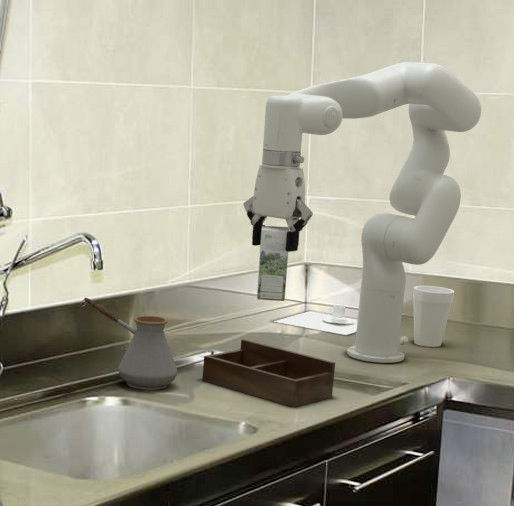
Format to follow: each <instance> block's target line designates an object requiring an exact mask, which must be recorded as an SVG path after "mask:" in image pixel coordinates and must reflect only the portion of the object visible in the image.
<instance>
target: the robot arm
mask: <svg viewBox="0 0 514 506" xmlns="http://www.w3.org/2000/svg"><path fill="white" fill-rule="evenodd" d="M405 105H408V117H409V122H410V125H411V129H412V135H413V141H412V147H411V150H410V152H409V154H408V155H407V158H406V160H405V162H404V164H403V166H402V168H401V170H400V172H399V173H398V175H397V177H396V179H395V181H394V183H393V185H392V187H391V190H390V192H389V198H388V199H389V204H390V205H391V207H392V208H393V209H394V210H395V211H397V212H398V213H402V214H405V215H408V216H414V217H415V218H414V217H408V216H405V215H399V214H393V213H387V212H386V213H385V212H384V213H377V214H373V215H372V216H370V217H369V218H368V219H367V220H366V222H365V223H364V224H363V227H362V231H361V235H360V236H361V237H360V238H361V239H360V241H361V251H362V272H361V284H360V293H359V300H358V301H359V302H358V310H357V311H358V312H357V330H356V332H355V341H354V345H352V346H350V347H348V348H347V349H346V354H347V356H348V357H350V358H353V359H355V360H360V361H363V362H370V363H377V364H378V363H379V364H393V363H401V362H402V361H404V359H405V353H404V352H402V351H401V350H400V347H401V346H405V345H407V344H408V343H409V338H408V337H407V336H405V335H404V336H400V335H401V327H402V326H401V325H402V319H403V318H402V317H403V310H404V309H403V307H404V299H405V290H406V283H407V282H406V281H407V277H406V271H405V267H404V264H403V263H405V264H410V265H414V266H415V265H416V266H420V265H424V264H426V263H428V262H429V261H430V260H431V259H432V258H434V257H435V254H437V251H438V250H439V248H440V246H441V244H442V243H443V240H444V239H445V236H446V235H447V234H448V231H449V229H450V228H451V225H452V223H453V222H454V220H455V217H456V216H457V214H458V212H459V208H460V205H461V200H462V199H461V197H462V194H461V193H462V192H461V188H460V185H459V183H458V182H457V180H455V178H453V177H451V176H449V175H445V174H444V173H445V171H446V169H447V167H448V164H449V162H450V157H451V150H450V145H449V144H450V143H449V139H448V137H447V133H446V132H453V133H464V132H468V131H471V130H472V129H473V128H475V127H476V125H478V123H479V122H480V120H481V119H480V118H481V116H482V115H481V114H482V105H481V102H480V99H479V97H478V96H477V94H476V93H475V92H474V91H473V90H472V89H471V88H470V87H468V86H467V85H466V84H465V83H464V82H463V81H462V80H460V79H459V77H457V76H456V75H455V74H453V73H452V72H451V71H450V70H448V69H447V68H446V67H444V66H442V65H440V64H438V63H435V62H418V61H402V62H398V63H394V64H392V65H389V66H386V67H385V66H384V67H383V68H380V69H377V70H374V71H370V72H368V73H365V74H361V75H358V76H353V77H348V78H344V79H339V80H334V81H330V82H325V83H319V84H315V85H312V86H311V85H310V86H308V87H304V88H302V89H299V90H295V91H292V92H290V93H289V94H287V95H280V94H279V95H278V94H277V95H270V96H269V97H267V100H266V101H265V112H264V113H265V114H264V126H263V139H262V140H263V142H262V155H261V156H262V157H261V164H260V165H259V167H258V170H257V172H256V173H257V174H256V178H255V183H254V189H253V196H251V197H249V199H247V200H246V201H243V207H244V210H245V212H246V216H247V218H248V219H249V221H250V222H249V223H250V225H251V226H252V234H251V245H252V246H253V247H254V246H260V244H261V231H262V226H266V225H265V224H264V223H265V221H266V220H267V219H268V217H269V218H275V219H282V220H285V222H286V225H287V227H289V230H290V231H288V232H287V237H286V251H287V252H288V253H290V252H291V253H292V252H297V251H298V249H299V242H300V232H302V231H303V230H304V229H303V228H304V227H306V226H307V224H308V222H309V221H310V220H311V218H312V217H313V214H314V213H313V210H311V209H310V208H309V206H308V205H307V204H306V183H305V173H304V169H303V168H302V167H301V164H304V162H305V156H302V141H303V134H308V135H315V136H316V135H317V136H326V135H330V134H332V133H334V132H336V130H337V129H338V128H339V127H340V126H341V124H342V123H343V122H342V121H343V119H349V120H352V119H353V120H354V119H356V120H357V119H365V118H371V117H374V116H377V115H379V114H382V113H385V112H388V111H391V110H393V109H396V108H398V107H402V106H405Z"/></svg>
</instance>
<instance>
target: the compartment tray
mask: <svg viewBox="0 0 514 506" xmlns="http://www.w3.org/2000/svg"><path fill="white" fill-rule="evenodd" d="M335 370H336V362H335V361H332V360H328V359H324V358H320V357H315V356H312V355H309V354H304V353H300V352H297V351H293V350H289V349H284V348H280V347H277V346H272V345H269V344H265V343H261V342H257V341H254V340H250V339H246V338H243V339H242V338H241V339H240V349H234V350H230V351H224V352H218V353H212V354H207V355H204V356H203V367H202V378H201V379H202V382H207V383H210V384H213V385H217V386H220V387H224V388H227V389H230V390H234V391H237V392H240V393H244V394H246V395H251V396H254V397H257V398H260V399H264V400H267V401H271V402H275V403H278V404H280V405H285V406H288V407H292V408H296V407H299V406H304V405H308V404H311V403H316V402H320V401H324V400H327V399H332V398H333V390H334V380H335V373H336V371H335Z"/></svg>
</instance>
